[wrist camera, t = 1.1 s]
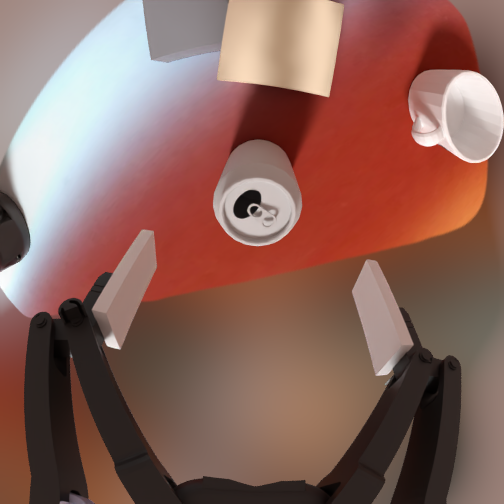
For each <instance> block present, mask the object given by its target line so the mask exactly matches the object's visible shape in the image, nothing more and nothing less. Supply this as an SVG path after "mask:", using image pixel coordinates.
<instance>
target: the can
mask: <svg viewBox="0 0 504 504" xmlns="http://www.w3.org/2000/svg"><path fill="white" fill-rule="evenodd" d="M213 207H214V211H215V215H216V218H217V220H218V221H219V223H220V224H221V226H222V227H223V228H224V230H225V231H226V233H227V234H229V235H230V236H231V237H232V238H233V239H235V240H236V241H239V242H241V243H243V244H246V245H253V246H262V245H269V244H272V243H274V242H277V241H279V240H280V239H282V238H283V237H284V236H285V235H287V234H288V233H289V231H290V230H291V229H292V228H293V226H294V225H295V223H296V222H297V220H298V219H299V216H300V212H301V209H302V200H301V192H300V189H299V186H298V183H297V181H296V178H295V175H294V172H293V169H292V166H291V163H290V161H289V159H288V157H287V155H286V153H285V152H284V151H283V150H282V149H281V148H280V147H279V146H278V145H276V144H274V143H272V142H270V141H265V140H259V139H258V140H251V141H247V142H245V143H243V144H241V145H239V146H238V147H237V148H236V149H235V150H234V151H233V152H232V153H231V155H230V157H229V159H228V161H227V163H226V165H225V168H224V170H223V173H222V175H221V177H220V180H219V182H218V185H217V187H216V190H215V192H214V201H213Z"/></svg>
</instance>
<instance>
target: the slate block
mask: <svg viewBox="0 0 504 504" xmlns="http://www.w3.org/2000/svg"><path fill="white" fill-rule="evenodd" d="M228 3H229V0H143V8H144V16H145V23H146V31H147V37H148V44H149V50H150V56H151V60H155V61H161V62H167V63H168V62H171V61H175V60H179V59H183V58H187V57H191V56H195V55H200V54H204V53H209V52H214V51H220V50H221V46H222V39H223V33H224V26H225V20H226V14H227V8H228Z"/></svg>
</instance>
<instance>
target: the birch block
mask: <svg viewBox="0 0 504 504" xmlns="http://www.w3.org/2000/svg"><path fill="white" fill-rule="evenodd" d="M343 9H344V5H343V4H340V3H336V2H333V1H329V0H229V3H228V8H227V14H226V20H225V26H224V33H223V39H222V46H221V53H220V60H219V67H218V75H217V80H221V81H232V82H242V83H251V84H260V85H267V86H274V87H280V88H286V89H291V90H297V91H302V92H307V93H312V94H316V95H321V96H326V97H329V94H330V89H331V84H332V78H333V73H334V67H335V61H336V55H337V49H338V43H339V37H340V30H341V24H342V17H343Z"/></svg>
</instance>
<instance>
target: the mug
mask: <svg viewBox="0 0 504 504" xmlns="http://www.w3.org/2000/svg"><path fill="white" fill-rule="evenodd" d="M408 102H409V111H410V114H411V118H412V120H413V122H414V124H413V127H412V136H413V138H414V140H415V141H416V142H417V143H419V144H420V145H423V146H433V145H436V144H439V145H440V146H442V147H444V148H445V149H447V150H448V151H450V152H452V153H453V154H455V155H456V156H458V157H459V158H461V159H462V160H464V161H467V162H469V163H479V162H482V161H485V160H487V159H488V158H489V157H490V156H492V155H493V153H494V152H495V150H496V149H497V147H498V145H499V143H500V140H501V137H502V133H503V124H504V123H503V122H504V116H503V111H502V105H501V102H500V99H499V97H498V94H497V92H496V91H495V89H494V87H493V86H492V85H491V83H490V82H489V81H488V80H487V79H486V78H485V77H483V76H482V75H480V74H479V73H477V72H474V71H470V70H428V71H424V72H422V73H421V74H419V75H418V76H417V77H416V78H415V79H414V81H413V82H412V85H411V87H410V90H409V97H408ZM420 132H421V133H420Z"/></svg>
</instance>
